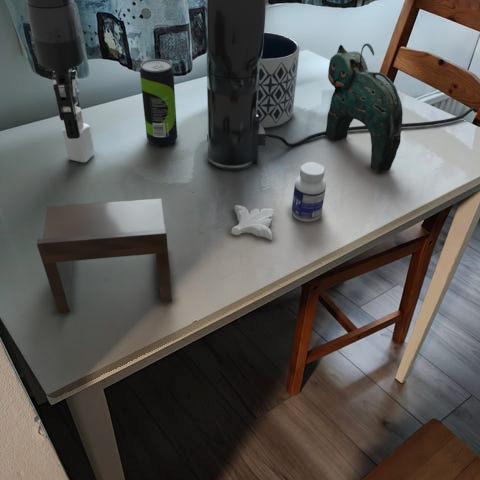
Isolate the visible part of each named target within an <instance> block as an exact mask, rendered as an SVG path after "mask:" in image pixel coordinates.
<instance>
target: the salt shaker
mask: <svg viewBox="0 0 480 480" xmlns="http://www.w3.org/2000/svg"><path fill="white" fill-rule="evenodd" d="M75 107H76V113H77V122H78V127H79V132H80V137H79V138H77V139H69V138H68V137H67V134H66V129H65V126H64V127H63V128H62V136H63V141H64V146H65V149H66V153H67V158H68V159H69V160H71V161H75V162H80V163H87V162H88V161H89V160H90V159H91V158H93V156H94V155H95V147H94V142H93V135H92V130H91V126H90V125H89V124H87V123H85V122H84V116H83V111H82V108H81V106H80V107H77V106H75ZM64 111H65V112H71V109H70V107H64Z"/></svg>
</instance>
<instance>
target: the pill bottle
mask: <svg viewBox="0 0 480 480" xmlns="http://www.w3.org/2000/svg"><path fill="white" fill-rule="evenodd" d="M325 173H326V168H325V167H324V166H323V164H321V163H319V162H311V161H309V162H305V163H303V164H302V165H301V166H300V170H299V175H298V176H297V177H296V178H295V182H294V187H293V194H292V195H293V197H292V204H291V215H292V216H293V217H294V218H295V219H296V220H298V221H302V222H307V223H309V222H314V221H317V220H319V219H320V218H321V217H322V212H323V206H324V200H325V195H326V190H327V182H326V180H325Z"/></svg>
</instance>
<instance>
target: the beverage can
mask: <svg viewBox="0 0 480 480" xmlns="http://www.w3.org/2000/svg"><path fill="white" fill-rule="evenodd" d="M172 66H173V64H172V63H171V61H169V60H167V59H163V58H150V59H146V60H144V61H142V62H141V63H140V70H139V75H140V76H139V78H140V86H141V95H142V105H143V111H144V112H143V115H144V124H145V134H146V135H145V136H146V140H147V141H148V142H150V144H151V145H153V146H156V147H167V146H168V147H169V146H172V145H173V144H174V143H175V142H176V140H177V139H178V126H177V125H178V124H177V108H176V91H175V89H176V88H175V75H174V68H173V67H172Z"/></svg>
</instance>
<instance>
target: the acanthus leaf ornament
mask: <svg viewBox="0 0 480 480" xmlns="http://www.w3.org/2000/svg"><path fill="white" fill-rule="evenodd" d="M248 210H249V209H247V207H245V206H244V205H240V204H239V205H238V204H235V206H234V213H235V214H236V219H237V221H238V222H239V223H238V224H237V225H235V226H233V227H232V229H231V234H232V235H233V236H240V235H241V234H245V233H246V234H247V233H249V234H252V235H254V236H256V237H262V238H266V239H268V240H270V241H272V240H273V234H272V230H271V229H270V226H271V224H272V219H273V218H274V216H275V215H274V213H275V209H274V208H271V207H269V208H267V207H266V208H265V207H264V208H262V209H261V210H260V209H259V208H254V209H252V210H251V211H250V213H249V211H248Z"/></svg>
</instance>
